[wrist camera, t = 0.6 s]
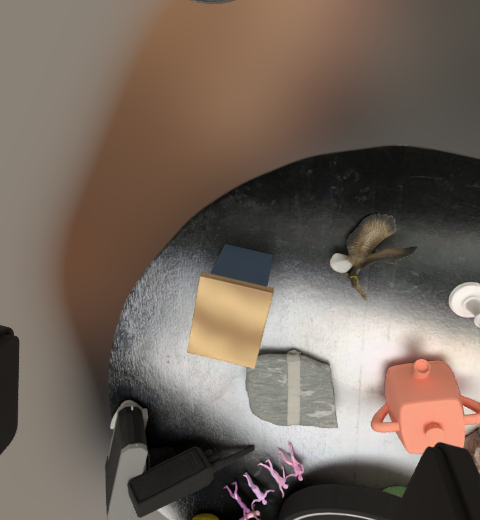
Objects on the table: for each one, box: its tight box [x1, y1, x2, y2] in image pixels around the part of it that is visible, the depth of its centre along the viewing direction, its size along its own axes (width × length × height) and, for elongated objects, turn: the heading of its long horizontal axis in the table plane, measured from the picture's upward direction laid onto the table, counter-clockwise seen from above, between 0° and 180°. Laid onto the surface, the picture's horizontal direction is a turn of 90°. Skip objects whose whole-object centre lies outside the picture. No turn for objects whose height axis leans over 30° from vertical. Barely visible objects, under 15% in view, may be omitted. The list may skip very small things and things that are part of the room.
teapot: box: [371, 359, 480, 454], centre depth 60 cm, size 14×12×10 cm
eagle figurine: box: [330, 213, 419, 300], centre depth 55 cm, size 8×7×9 cm
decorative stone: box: [245, 350, 338, 428], centre depth 64 cm, size 13×10×6 cm
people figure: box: [224, 444, 304, 520], centre depth 74 cm, size 18×6×8 cm
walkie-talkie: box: [127, 446, 254, 517], centre depth 69 cm, size 6×6×20 cm
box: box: [211, 244, 273, 287], centre depth 56 cm, size 8×7×12 cm
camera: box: [105, 400, 175, 520], centre depth 72 cm, size 18×10×10 cm, turn 164°
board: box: [187, 272, 274, 368], centre depth 50 cm, size 10×8×1 cm
